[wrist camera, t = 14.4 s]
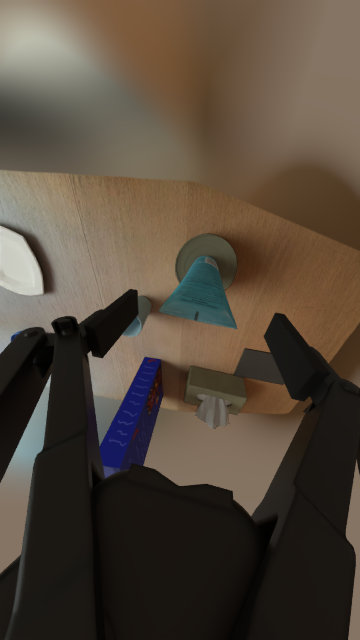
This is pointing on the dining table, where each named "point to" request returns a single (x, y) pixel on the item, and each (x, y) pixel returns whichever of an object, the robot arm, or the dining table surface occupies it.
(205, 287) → the tube
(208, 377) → the tissue box
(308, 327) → the dining table surface
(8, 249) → the plate
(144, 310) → the cup
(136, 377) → the cereal box
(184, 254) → the can
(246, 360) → the thin charcoal rectangular slate
